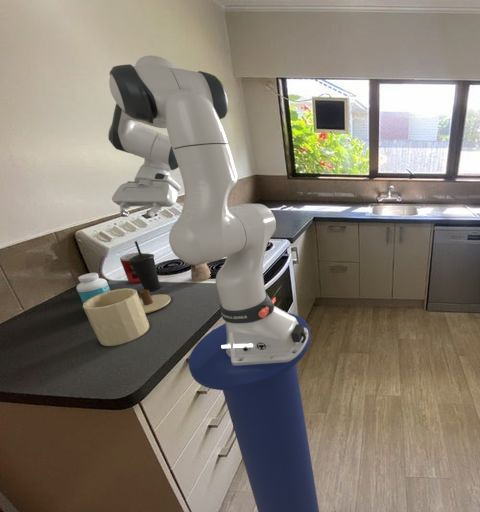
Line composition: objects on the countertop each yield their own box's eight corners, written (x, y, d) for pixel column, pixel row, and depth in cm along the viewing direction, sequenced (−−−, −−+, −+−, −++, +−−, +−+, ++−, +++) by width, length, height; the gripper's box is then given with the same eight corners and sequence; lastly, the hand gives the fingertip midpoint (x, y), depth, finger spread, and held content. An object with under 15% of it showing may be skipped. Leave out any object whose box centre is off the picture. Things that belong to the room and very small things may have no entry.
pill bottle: (118, 310, 100) (103, 275, 95) (88, 319, 95) (71, 282, 90) (116, 302, 105) (102, 268, 100) (88, 310, 100) (72, 275, 95)
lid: (179, 297, 107) (175, 283, 105) (150, 317, 96) (144, 301, 93) (148, 296, 109) (143, 281, 106) (116, 315, 97) (109, 299, 95)
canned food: (139, 275, 125) (130, 252, 121) (156, 275, 125) (148, 252, 121) (123, 283, 118) (114, 259, 114) (142, 284, 118) (133, 259, 114)
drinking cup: (139, 288, 114) (121, 241, 107) (162, 282, 119) (146, 236, 112) (142, 295, 109) (123, 246, 102) (166, 288, 114) (150, 241, 107)
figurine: (196, 274, 126) (189, 249, 121) (213, 273, 127) (207, 248, 122) (189, 282, 119) (181, 255, 115) (207, 280, 120) (200, 254, 116)
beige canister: (158, 323, 93) (146, 289, 88) (125, 347, 82) (109, 309, 77) (126, 321, 94) (112, 287, 89) (89, 344, 83) (70, 307, 78)
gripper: (116, 175, 97) (98, 210, 91) (172, 175, 95) (156, 211, 89) (133, 187, 102) (116, 220, 97) (185, 187, 100) (171, 221, 95)
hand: (136, 216), depth 93 cm, fingers open, 8 cm apart
